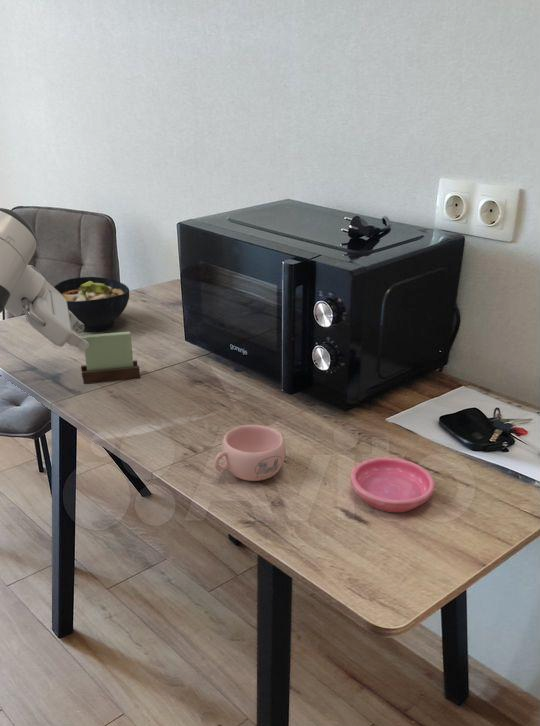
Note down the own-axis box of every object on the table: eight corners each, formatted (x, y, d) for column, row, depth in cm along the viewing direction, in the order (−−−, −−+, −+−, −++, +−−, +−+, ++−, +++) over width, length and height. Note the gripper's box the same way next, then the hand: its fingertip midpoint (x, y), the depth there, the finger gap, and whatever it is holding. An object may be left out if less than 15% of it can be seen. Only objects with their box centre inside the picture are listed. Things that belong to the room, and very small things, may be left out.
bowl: (74, 344, 154) (68, 300, 148) (45, 321, 165) (39, 279, 160) (144, 329, 162) (141, 287, 157) (112, 308, 174) (108, 268, 168)
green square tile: (88, 381, 138) (82, 337, 133) (87, 378, 139) (82, 335, 134) (134, 376, 141) (130, 333, 136) (133, 374, 142) (129, 331, 137)
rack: (83, 384, 137) (82, 372, 136) (82, 376, 140) (80, 365, 139) (140, 378, 140) (139, 367, 139) (137, 371, 143) (136, 360, 141)
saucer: (449, 505, 105) (452, 487, 103) (382, 528, 99) (385, 510, 98) (397, 466, 114) (399, 449, 112) (333, 485, 108) (334, 468, 107)
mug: (263, 449, 117) (264, 418, 114) (297, 477, 110) (298, 444, 107) (199, 468, 112) (198, 435, 109) (230, 498, 105) (230, 464, 102)
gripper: (34, 295, 117) (100, 346, 125) (32, 263, 133) (90, 309, 141) (11, 323, 118) (78, 371, 126) (11, 287, 135) (70, 332, 142)
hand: (84, 338), depth 134 cm, fingers open, 8 cm apart
